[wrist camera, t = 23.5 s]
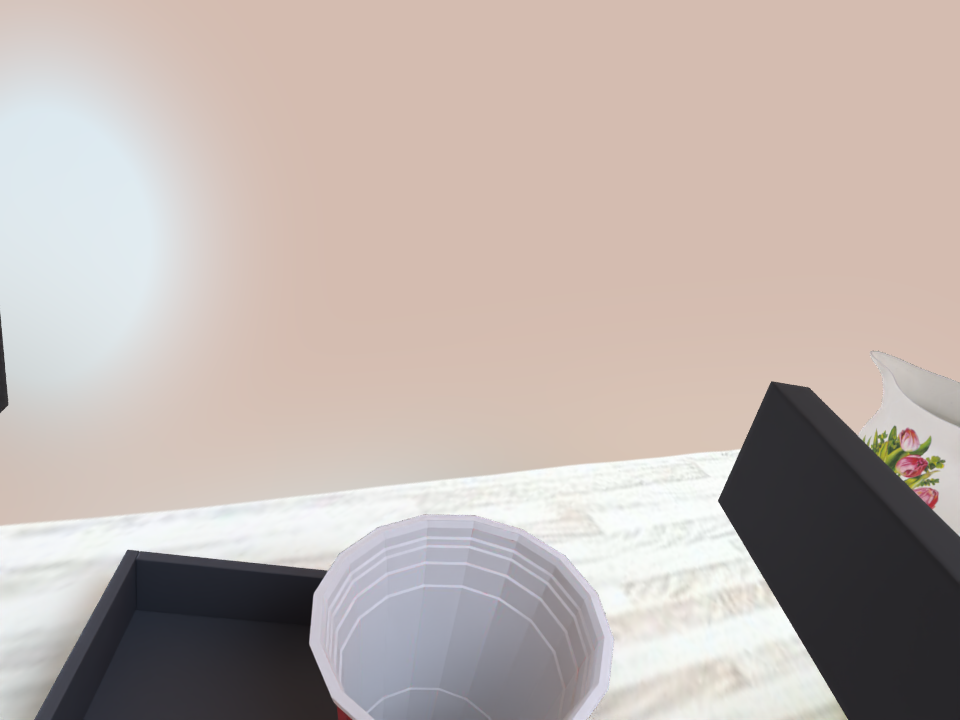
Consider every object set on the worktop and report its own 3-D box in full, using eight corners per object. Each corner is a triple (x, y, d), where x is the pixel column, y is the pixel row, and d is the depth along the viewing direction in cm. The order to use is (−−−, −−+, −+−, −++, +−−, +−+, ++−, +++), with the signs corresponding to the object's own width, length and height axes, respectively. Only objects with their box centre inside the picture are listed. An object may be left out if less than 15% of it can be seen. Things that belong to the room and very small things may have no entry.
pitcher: (976, 656, 48) (1093, 493, 42) (767, 494, 61) (833, 353, 55) (1046, 616, 53) (1157, 468, 47) (841, 476, 67) (908, 347, 61)
